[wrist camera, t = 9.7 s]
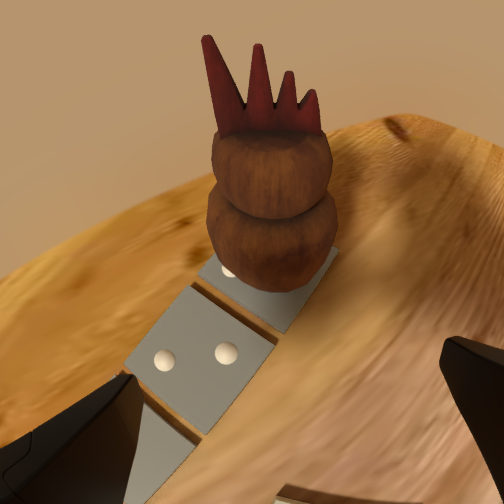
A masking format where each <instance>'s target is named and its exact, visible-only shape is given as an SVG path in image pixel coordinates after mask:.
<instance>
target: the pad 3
mask: <svg viewBox="0 0 504 504" xmlns="http://www.w3.org/2000/svg"><path fill="white" fill-rule="evenodd" d="M274 348H275V345H273V344H272V343H270V342H269V341H267V340H266V339H264V338H263V337H261V336H260V335H259V334H257V333H256V332H254V331H253V330H251V329H250V328H248V327H247V326H245V325H244V324H242V323H241V322H240V321H238V320H237V319H235V318H234V317H232V316H231V315H229V314H228V313H227V312H225V311H224V310H222V309H221V308H220V307H218V306H217V305H215V304H214V303H213V302H211V301H210V300H208V299H207V298H206V297H204V296H203V295H202V294H200V293H199V292H197V291H196V290H195V289H193V288H192V287H191V286H189V285H187V286H186V287H185V289H184V290H183V291H182V292H181V293H180V295H179V296H178V297H177V298H176V299H175V301H174V302H173V303H172V304H171V305H170V307H169V308H168V309H167V310H166V311H165V313H164V314H163V315H162V316H161V317H160V319H159V320H158V321H157V322H156V324H155V325H154V326H153V327H152V328H151V330H150V331H149V332H148V333H147V335H146V336H145V337H144V338H143V339H142V341H141V342H140V343H139V344H138V346H137V347H136V348H135V349H134V351H133V352H132V353H131V354H130V356H129V357H128V358H127V359H126V361H125V362H124V363H123V364H124V365H125V366H126V367H127V368H128V369H129V370H130V371H131V372H132V373H133V374H134V375H135V376H136V377H137V378H138V379H139V380H140V381H142V382H143V383H144V384H145V385H146V386H147V387H148V388H149V389H150V390H151V391H152V392H154V393H155V394H156V395H157V396H158V397H159V398H160V399H161V400H163V401H164V402H165V403H166V404H167V405H168V406H170V407H171V408H172V409H173V410H174V411H175V412H177V413H178V414H179V415H180V416H182V417H183V418H184V419H185V420H187V421H188V422H189V423H190V424H192V425H193V426H194V427H195V428H197V429H198V430H199V431H201V432H202V433H203V434H205V435H207V434H208V433H209V432H210V430H211V429H212V428H213V427H214V425H215V424H216V423H217V422H218V421H219V419H220V418H221V417H222V416H223V414H224V413H225V412H226V411H227V409H228V408H229V407H230V406H231V404H232V403H233V402H234V401H235V399H236V398H237V397H238V396H239V394H240V393H241V392H242V390H243V389H244V388H245V387H246V385H247V384H248V383H249V381H250V380H251V379H252V377H253V376H254V375H255V373H256V372H257V371H258V369H259V368H260V367H261V365H262V364H263V363H264V361H265V360H266V359H267V357H268V356H269V354H270V353H271V352H272V350H273V349H274Z"/></svg>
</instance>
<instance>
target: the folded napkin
mask: <svg viewBox="0 0 504 504" xmlns="http://www.w3.org/2000/svg"><path fill="white" fill-rule="evenodd" d="M272 504H310V503H305V502H301V501H297V500H293V499H289V498H285V497H281V496H277V495H276V496H275V498H274V500H273V502H272Z"/></svg>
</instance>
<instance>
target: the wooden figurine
mask: <svg viewBox="0 0 504 504" xmlns="http://www.w3.org/2000/svg"><path fill="white" fill-rule="evenodd" d="M201 43H202V48H203V53H204V59H205V65H206V70H207V76H208V81H209V87H210V92H211V98H212V103H213V108H214V114H215V118H216V122H217V126H218V131H217V132H216V133H215V134H214V139H213V145H212V158H211V161H212V167H213V172H214V175H215V177H216V179H217V183H216V185H215V186H214V188H213V189H212V191H211V192H210V194H209V199H208V211H207V219H206V224H207V229H208V233H209V236H210V239H211V242H212V244H213V247H214V250H215V252H216V255H217V257H218V260H219V261H220V262H221V264H222V265H223V266H224V267H225V268H226V269H227V270H229V271H230V272H231V273H232V274H234V275H235V276H236V277H237V278H238V279H239V280H241V281H242V282H244V283H245V284H247V285H249V286H251V287H253V288H255V289H257V290H261V291H266V292H270V293H288V292H290V291H293V290H295V289H298V288H300V287H302V286H304V285H306V284H308V283H309V281H310V280H311V279H312V278H313V276H314V275H315V274H316V273H317V271H318V270H319V269H320V268H321V266H322V265H323V264H324V263H325V261H326V259H327V257H328V255H329V253H330V250H331V247H332V245H333V241H334V238H335V235H336V231H337V228H338V221H337V212H336V206H335V203H334V199H333V197H332V196H331V195H330V193H329V192H328V191H327V186H328V183H329V179H330V176H331V173H332V164H333V159H332V155H331V151H330V147H329V144H328V140H327V137H326V134H325V133H324V132H323V131H322V130H321V123H320V110H319V104H318V98H317V94H316V91H315V90H314V89H310V90H309V91H308V92H307V93H306V95H305V96H304V98H303V99H302V100H301V102H300V103H297V97H296V87H295V78H294V73H293V72H292V71H286V72H285V75H284V78H283V82H282V85H281V88H280V92H279V96H278V99H277V102H276V103H274V102H273V97H272V92H271V86H270V81H269V75H268V70H267V65H266V60H265V55H264V50H263V46H262V45H261V44H255V45H254V46H253V55H252V62H251V71H250V79H249V89H248V98H247V103H244V101H243V99H242V97H241V95H240V93H239V91H238V88H237V86H236V84H235V82H234V80H233V78H232V76H231V74H230V72H229V70H228V68H227V66H226V63H225V61H224V60H223V57H222V55H221V53H220V51H219V49H218V47H217V45H216V44H215V41H214V39H213V37H212V36H211V35H204V36H203V37H202V40H201Z"/></svg>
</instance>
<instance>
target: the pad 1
mask: <svg viewBox="0 0 504 504" xmlns="http://www.w3.org/2000/svg"><path fill="white" fill-rule="evenodd" d="M116 376H118V375H115V374H114V376H113V377H112V378H111V379H110V380H112V379H113V378H115V377H116ZM196 447H197V445H196V444H195V443H194V442H192V441H191V440H190V439H188V438H187V437H186V436H185V435H183V434H182V433H181V432H180V431H178V430H177V429H176V428H175V427H173V426H172V425H171V424H170V423H169V422H168V421H166V420H165V419H164V418H163V417H162V416H161V415H159V414H158V413H157V412H156V411H155V410H154V409H153V408H151V407H150V406H149V405H148V404H147V403H146V402H145V401H144V406H143V412H142V418H141V425H140V432H139V439H138V445H137V450H136V454H135V458H134V461H133V465H132V469H131V473H130V477H129V481H128V485H127V489H126V493H125V498H124V503H125V504H145V503H146V502H147V501H148V500H149V499H150V498H151V497H152V496H153V494H154V493H155V492H156V491H157V490H158V489H159V488H160V487H161V486H162V485H163V484H164V483H165V482H166V481H167V480H168V478H169V477H170V476H171V475H172V474H173V473H174V472H175V471H176V470H177V469H178V467H179V466H180V465H181V464H182V463H183V462H184V461H185V460H186V458H187V457H188V456H189V455H190V454H191V453H192V452H193V450H194V449H195V448H196Z"/></svg>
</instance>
